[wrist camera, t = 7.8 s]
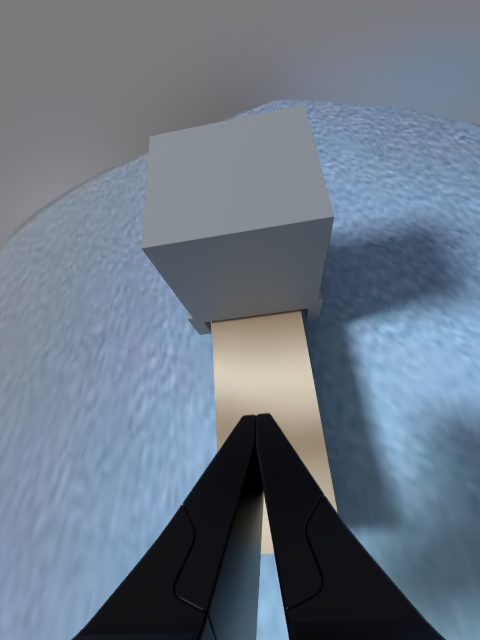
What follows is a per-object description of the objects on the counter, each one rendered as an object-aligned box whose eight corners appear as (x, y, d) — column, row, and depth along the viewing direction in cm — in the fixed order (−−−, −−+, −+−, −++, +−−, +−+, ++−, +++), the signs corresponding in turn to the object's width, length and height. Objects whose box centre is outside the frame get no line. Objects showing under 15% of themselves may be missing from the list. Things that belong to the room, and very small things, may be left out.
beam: (333, 530, 14) (344, 550, 12) (234, 536, 15) (221, 556, 12) (279, 219, 23) (278, 187, 20) (216, 230, 23) (206, 200, 20)
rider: (319, 319, 17) (343, 214, 10) (200, 334, 18) (133, 249, 10) (302, 238, 20) (311, 102, 12) (198, 254, 20) (143, 137, 13)
